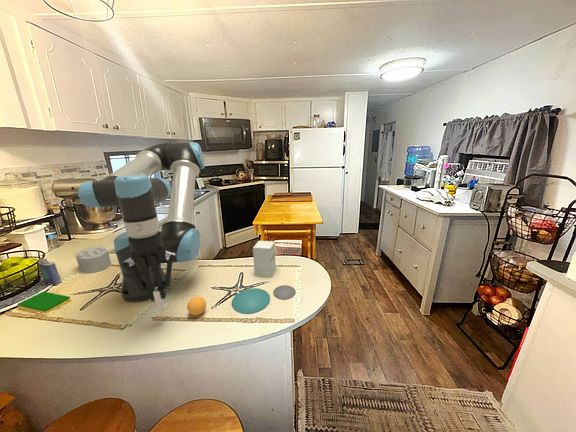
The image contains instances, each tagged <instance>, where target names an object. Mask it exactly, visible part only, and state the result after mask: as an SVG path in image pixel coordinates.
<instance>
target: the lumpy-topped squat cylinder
mask: <svg viewBox="0 0 576 432" xmlns="http://www.w3.org/2000/svg"><path fill="white" fill-rule="evenodd" d="M74 256H75V259H76V262H77V265H78V268H79V270H80V272H82V273H83V274H96V273H99V272H103V271H105V270H107V269H109V268H110V267H111V265H112V260H111V257H110V255H109V250H108V249H107V248H106V247H105V246H103V245H102V246H91V247H88V248H84V249H82V250H80V251H79V252H77V253H75V255H74Z"/></svg>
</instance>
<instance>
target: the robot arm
mask: <svg viewBox="0 0 576 432" xmlns="http://www.w3.org/2000/svg"><path fill="white" fill-rule="evenodd" d="M205 165H206V164H205V159H204V154H203V151H202V148H201V145H200V144H199V143H198V142H194V141H193V142H190V141H188V142H162V143H155V144H153V145H151V146H149V147H146V148H144V149H143V150H141V151H139V152H138V153H137V154H136V156H135V158H133V159H132V160H130V161H129V162H127V163H126V164H124V165H123V166H121V167H120V168H118V169H116V170H115V171H114V172H113V171H112V173H110V174H108V175H107V176H105V177H103V178H102V179H100V180H97V181H96V180H91V181H85V182H83V183H81V184H80V185H79V186H78V188H77V189H78V190H77V196H78V198H79V200H80V202H81V204H82V205H84V206H85V207H88V208H101V209H102V208H110V207H111V208H112V207H119V208H120V211H121V215H122V219H123V225H124V228H125V231H124V232H123V233H120V234H119V235H118V234H117V236H116V237H115V238H114V239H113V247H114V252H115V254H116V258H117V261H118V265H119V268H120V272H121V275H122V280H121V286H120V294H121V298H122V300H124V301H125V302H131V303H134V302H136V303H137V302H141V301H145V300H149V299H150V301H151V302H155V307H156V311H157V312H161V311H164V309H165V299H166V297H167V291H166V289H168V287H170V285H171V283H172V282H171V281H172V273H173V264H174V263H184V262H191V261H193V260H194V259H196V257H197V256H198V254H199V251H200V247H201V234H200V231H199V230H198V229H197V227H196V225H195V224H194V223H193V216H194V215H193V214H194V201H195V200H194V199H195V187H196V177H198V175H200V172H201V170H203V169H205V168H206V166H205ZM160 171H161V172H162V171H171V172H172V174H173V175H172V176H173V177H172V184H171V185H170V183H169V182H168V181H167V180H166V179H164V178H162V177H156V176H155V177H151V175H152V174H156V173H158V172H160ZM167 199H169V203H168V204H169V205H168V212H167V218H166V219H167V221H165V222H163V223H161V224H162V225H161V227H160V223H159V217H158V214H157V208H156V205H158V204H161V203H163V202H165V201H166V200H167ZM160 229H161V230H160ZM161 264H162V265H163V264H166V269H165V270H166V271H164V269H163V268H162V265H161Z"/></svg>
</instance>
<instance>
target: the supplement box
mask: <svg viewBox="0 0 576 432" xmlns="http://www.w3.org/2000/svg"><path fill="white" fill-rule="evenodd" d="M275 245H276V243H275V241H273V240H258V241H257V242H256V243H255V245H254V246H253V247H252V257H253V268H254V269H253V270H254V276H256V277H264V278H265V277H267V278H272V277H273V274H274V272H275V270H276V268H277V266H276V265H277V263H276V262H277V261H276V246H275Z"/></svg>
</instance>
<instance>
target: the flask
mask: <svg viewBox="0 0 576 432" xmlns="http://www.w3.org/2000/svg"><path fill="white" fill-rule="evenodd" d="M38 261H39V262H38ZM38 261H37V262H38V263H37V265H38V267H39V270H40V273H41V275H42V279H43V282H44V281H45V282H47V283H51V284H50V285H52V284H53V285H52V286H54V285H55V286H56V285H59V284H61V283H62V280H61V276H60V273H59V271H58V269H57V266H56V263H55V262H53V261H48V258H47V257H45V258H40V259H39V260H38ZM45 282H44V283H45ZM47 283H46V284H47Z"/></svg>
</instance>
